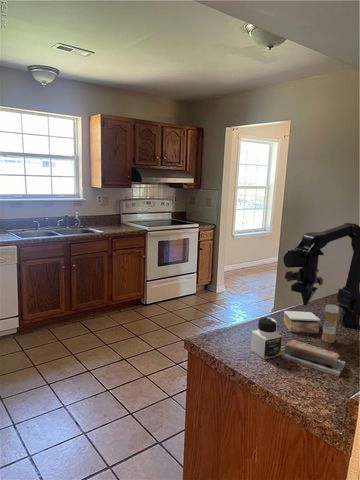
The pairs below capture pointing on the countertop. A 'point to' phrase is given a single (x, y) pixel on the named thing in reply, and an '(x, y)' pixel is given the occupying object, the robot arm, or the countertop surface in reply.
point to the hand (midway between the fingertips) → (305, 305)
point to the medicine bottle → (266, 339)
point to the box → (301, 325)
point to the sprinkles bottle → (330, 323)
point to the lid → (301, 316)
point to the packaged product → (313, 357)
